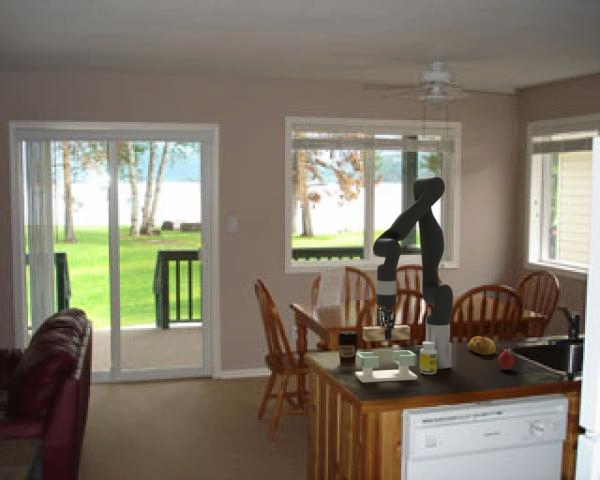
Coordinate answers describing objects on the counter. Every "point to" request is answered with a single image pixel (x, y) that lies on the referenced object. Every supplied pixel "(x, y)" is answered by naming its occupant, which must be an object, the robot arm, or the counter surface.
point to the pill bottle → (428, 358)
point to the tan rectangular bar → (379, 333)
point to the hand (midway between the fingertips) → (386, 337)
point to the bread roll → (482, 346)
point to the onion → (506, 360)
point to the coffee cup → (347, 347)
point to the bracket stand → (370, 362)
